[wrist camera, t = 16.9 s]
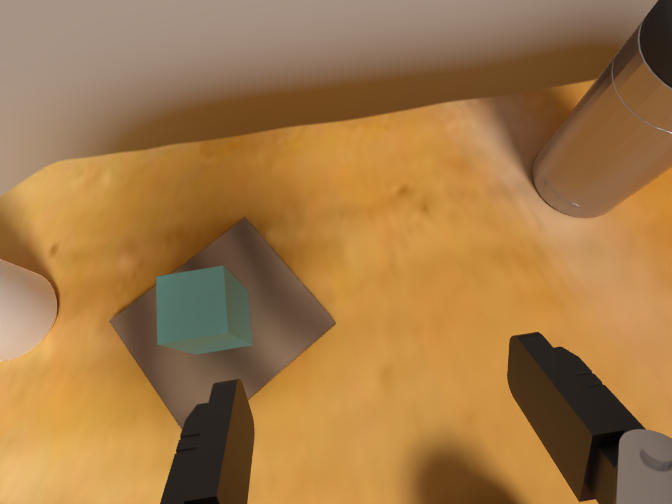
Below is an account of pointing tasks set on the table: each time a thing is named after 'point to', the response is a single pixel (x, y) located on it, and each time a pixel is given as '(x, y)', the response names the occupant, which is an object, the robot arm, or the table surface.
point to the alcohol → (24, 310)
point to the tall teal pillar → (202, 311)
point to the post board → (265, 317)
